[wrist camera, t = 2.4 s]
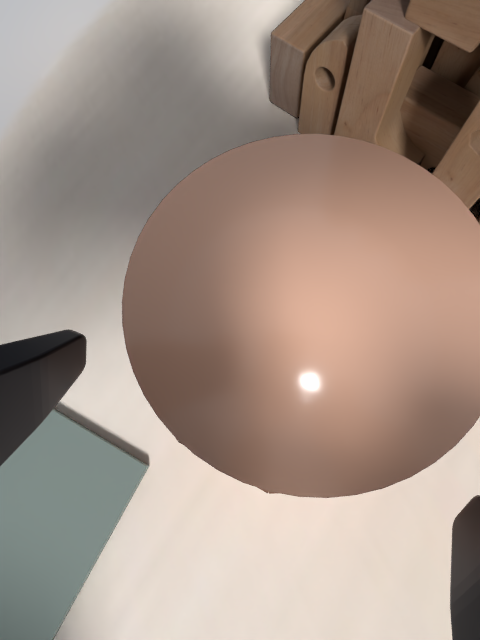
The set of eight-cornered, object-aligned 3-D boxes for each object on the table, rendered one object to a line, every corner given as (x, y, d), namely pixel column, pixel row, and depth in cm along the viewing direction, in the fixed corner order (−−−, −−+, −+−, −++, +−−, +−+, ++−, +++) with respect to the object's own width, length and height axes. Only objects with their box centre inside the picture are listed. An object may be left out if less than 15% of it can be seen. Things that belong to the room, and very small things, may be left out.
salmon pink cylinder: (322, 491, 17) (422, 588, 6) (174, 408, 19) (49, 372, 8) (389, 340, 19) (559, 213, 8) (249, 274, 20) (231, 89, 9)
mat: (33, 675, 16) (28, 680, 16) (-127, 554, 18) (-136, 556, 17) (149, 465, 18) (146, 466, 18) (-5, 374, 20) (-10, 372, 19)
